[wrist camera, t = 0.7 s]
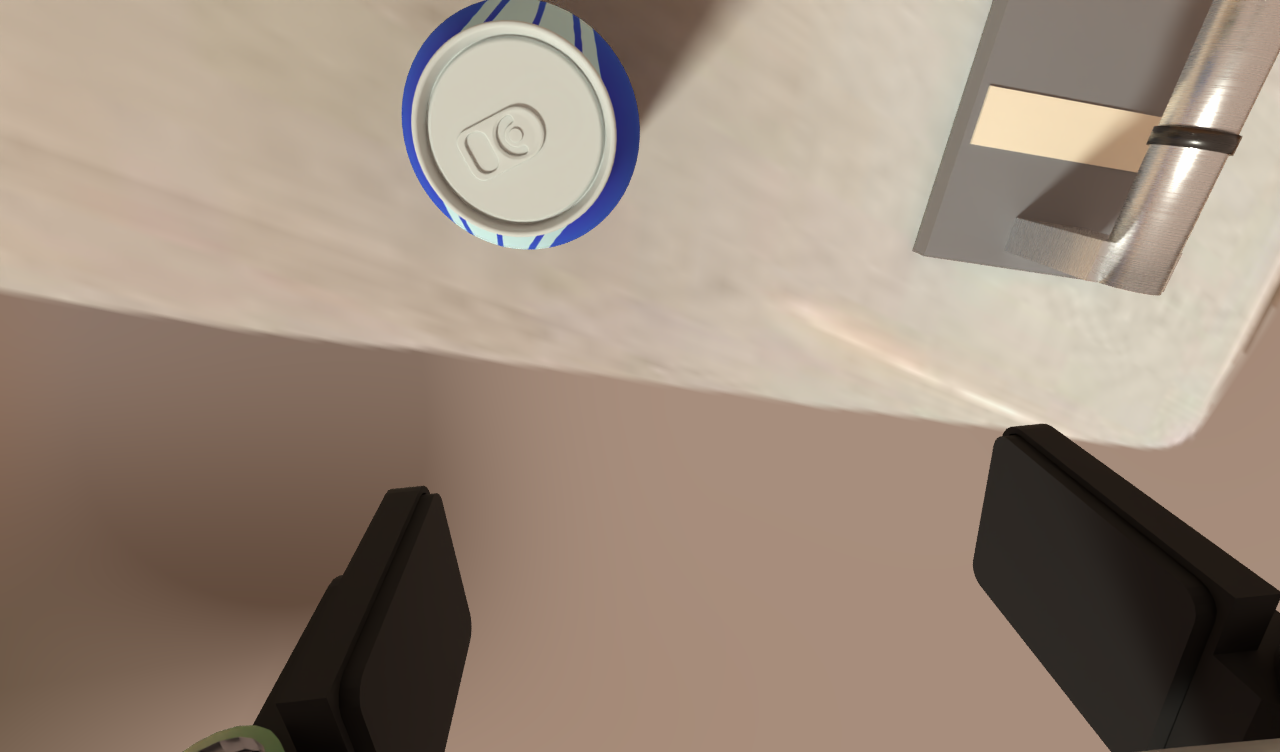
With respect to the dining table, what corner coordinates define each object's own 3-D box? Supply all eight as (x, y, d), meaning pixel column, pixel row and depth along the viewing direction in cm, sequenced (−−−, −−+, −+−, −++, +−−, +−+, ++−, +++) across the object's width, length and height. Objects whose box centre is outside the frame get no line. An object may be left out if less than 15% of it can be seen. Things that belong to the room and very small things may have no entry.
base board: (1090, -301, 29) (1117, -323, 28) (1346, -232, 31) (1384, -249, 29) (912, 250, 39) (925, 256, 38) (1113, 280, 41) (1133, 287, 39)
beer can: (484, 16, 33) (394, -54, 18) (640, 61, 34) (674, 30, 19) (461, 179, 36) (369, 232, 21) (605, 215, 37) (611, 288, 23)
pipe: (1198, -266, 29) (1426, -406, 21) (1281, -244, 29) (1534, -372, 22) (1003, 250, 38) (1110, 289, 30) (1069, 260, 39) (1191, 301, 31)
